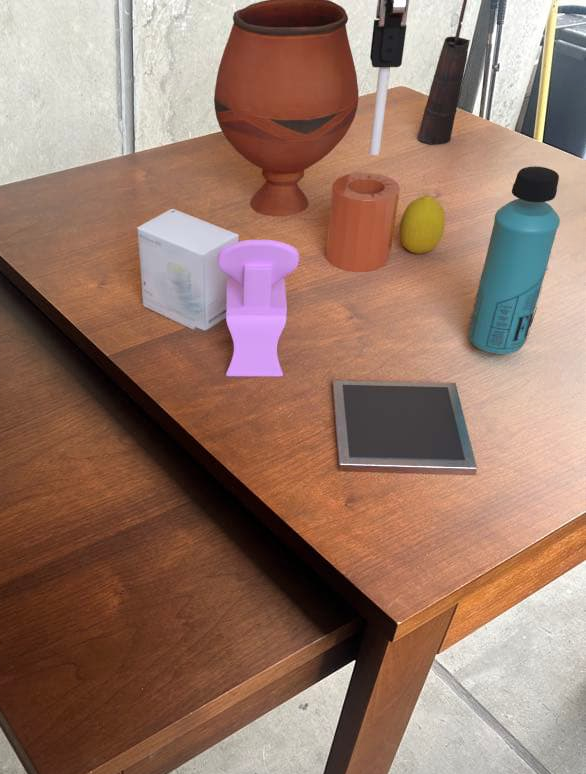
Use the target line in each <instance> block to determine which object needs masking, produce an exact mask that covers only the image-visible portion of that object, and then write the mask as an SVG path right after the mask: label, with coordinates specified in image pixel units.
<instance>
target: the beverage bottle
mask: <svg viewBox="0 0 586 774" xmlns="http://www.w3.org/2000/svg"><path fill="white" fill-rule="evenodd" d="M559 181H560V175H559V173H558V172H557V171H556V170H554V169H551V168H548V167H544V166H538V165H537V166H536V165H535V166H526V167H523V168H521V169H519V171H518V172H517V174H516V177H515V180H514V183H513V184H512V189H511V194H512V195H513V196H514V197H515V198H516V199H513V200H511V201H508V203H506V204H504V205H502V206H501V207H500V208H499V209H498V210H497V211H496V213H495V215H494V222H493V226H492V229H491V235H490V239H489V243H488V247H487V250H486V251H487V252H486V255H485V260H484V264H483V265H482V268H481V274H480V278H479V282H478V285H477V292H476V293H475V295H474V302H473V306H472V308H473V309H472V311H471V313H470V317H469V319H470V321H469V323H468V324H469V325H468V332H467V333H468V338H469V341H470V343H471V344H472V345H474V347H476V348H477V349H479V350H482V351H485V352H487V353H491V354H500V355H501V354H502V355H506V354H513V353H516V352H518V351H520V350H521V349H522V348H523V347H524V345H525V344H526V343H527V341H528V340H529V334H530V333H531V330H530V329H531V328H532V324H533V322H534V319H535V315H536V312H537V309H538V304H539V302H538V301H539V300H540V299H541V298H540V295H541V293H542V291H543V290H542V289H543V283H544V279H545V276H546V273H547V271H548V270H549V268H548V266H549V262H550V261H552V260H551V259H552V258H551V254H552V249H553V246H554V242H555V238H556V234H557V231H558V228H559V227H560V223H561V222H560V221H561V218H560V216H559V215H558V213H557V211H556V210H555V209H554V208H553V207H552V205H550V203H548V202H550V201H553V200H554V199H556V195H557V192H558V185H559Z"/></svg>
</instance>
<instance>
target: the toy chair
mask: <svg viewBox="0 0 586 774" xmlns="http://www.w3.org/2000/svg"><path fill="white" fill-rule="evenodd" d="M299 262H300V253H299V251H298V249H297V248H296V247H294V246H293V245H291V244H288V243H285V242H282V241H279V240H273V239H246V240H239V242H236V243H233V244H230V245H228V246H226V247H224V248H223V249H221V250H220V252H219V253H218V265H219V268H220V269H221V271H222V272H224V273H225V274H227V275H229V276H230V277H231V278H233V279H227V308H226V318H225V320H226V325H227V328H228V331H229V332H230V334H231V339H232V342H233V352H232V357H231V360H230V363H229V365H228V368H227V370H226V371H225V372H226V373H225V376H226V377H277V378H278V377H284V373H283V372H284V371H283V370H282V367H281V364H280V361H279V357H278V343H279V340H280V337H281V336H282V332H283V330H284V329H285V326H286V324H287V312H288V305H287V304H288V303H287V293H286V279H285V277H287V276H288V275H290V274H292V273H293V272H294V271H296V269H297V268H298V266H299Z"/></svg>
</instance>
